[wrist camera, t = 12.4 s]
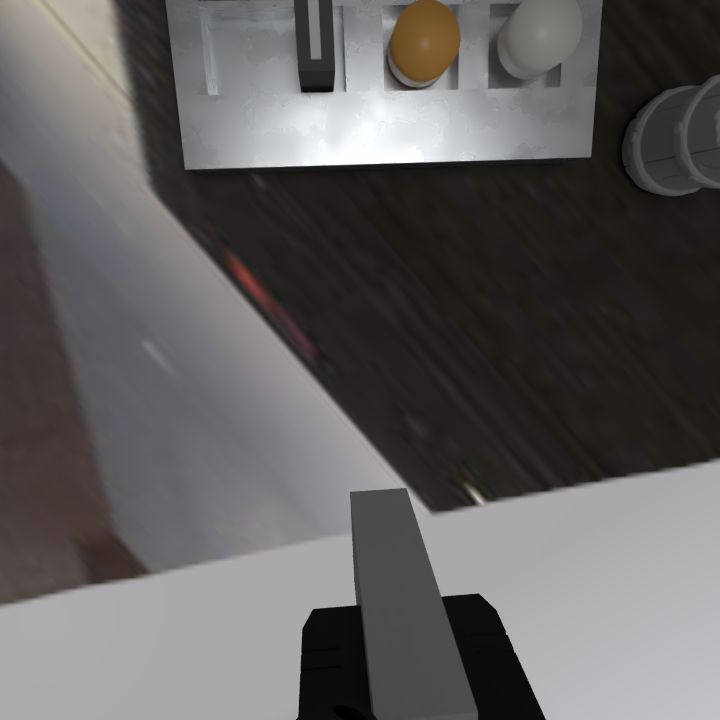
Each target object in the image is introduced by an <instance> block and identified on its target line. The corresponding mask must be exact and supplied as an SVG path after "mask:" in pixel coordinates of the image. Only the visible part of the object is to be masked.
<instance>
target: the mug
mask: <svg viewBox="0 0 720 720" xmlns="http://www.w3.org/2000/svg"><path fill="white" fill-rule="evenodd" d="M622 159H623V164H624V166H627V167H625V170H626V172H627V173H628V174H629V176H630V177H631V179H632V180H633V181H634V182H635V184H636V185H638V186H639V187H640V188H642V189H644V190H646V191H649V192H652V193H654V194H660V195H664V196H679V195H684V194H688V193H693V192H696V191H697V190H698V189H700V188H702V187H708V188H720V75H716V76H713V77H711V78H709V79H708V80H707V81H706V82H705V83H704V84H702V85H701V86H682V87H677V88H674V89H669V90H666V91H664V92H663V93H661V94H660V95H658V96H656V97H655V98H654V99H652V100H651V101H650V102H649V103H648V104H647V105H646V106H644V107H643V108H642V109H641V110H640V111H639V112H638V113H637V114H636V119H633V120H632V121H631V122H630V124H629V125H628V127H627V130H626V133H625V136H624V140H623V144H622Z"/></svg>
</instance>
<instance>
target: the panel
mask: <svg viewBox="0 0 720 720" xmlns="http://www.w3.org/2000/svg"><path fill="white" fill-rule="evenodd" d="M416 1H418V0H332V4H333V27H334V50H335V80H334V91H333V92H308V93H301V87H300V81H299V74H298V62H297V45H296V29H295V12H294V0H166V8H167V16H168V25H169V34H170V42H171V51H172V59H173V68H174V77H175V85H176V94H177V103H178V111H179V120H180V128H181V137H182V146H183V154H184V163H185V170H188V171H190V172H193V173H195V174H198V175H210V174H242V173H274V172H305V171H337V170H369V169H401V168H433V167H465V166H497V165H529V164H561V163H569V162H573V161H577V160H581V159H585V158H589V157H591V149H592V135H593V121H594V108H595V94H596V81H597V67H598V54H599V40H600V27H601V13H602V0H575V1H576V2H577V4H578V6H579V8H580V11H581V15H582V33H581V37H580V40H579V43H578V45H577V47H576V48H575V50H574V51H573V52H572V54H571V55H570V56H569V57H568V58H567V59H565V60H564V61H563V62H561V63H560V64H558V65H557V66H555V67H554V68H552V69H551V70H549V71H548V72H546V73H545V74H543V75H541V76H540V77H537V78H534V79H528V80H525V79H519V78H516V77H514V76H512V75H511V74H510V73H508V72H507V71H506V70H505V68H504V67H503V65H502V64H501V61H500V59H499V56H498V50H497V41H498V35H499V32H500V30H501V27H502V25H503V24H504V22H505V21H506V20H507V18H508V17H509V16H510V15H511V14H512V13H513V12H514V11H515V10H516V8H517V7H518V6H519V5H520V4H521V3H522V2H523V1H524V0H437V1H439V2H441V3H443V4H445V5H446V6H447V7H448V8H449V9H450V10H451V11H452V12H453V13H454V15H455V17H456V19H457V21H458V24H459V27H460V34H461V40H460V47H459V50H458V53H457V55H456V57H455V59H454V61H453V62H452V63H451V64H450V66H449V67H448V68H447V69H446V71H445V72H444V73H443V74H442V75H441V77H440V78H439V79H438V80H437V81H435V82H434V83H432V84H431V85H428V86H426V87H420V88H416V87H410V86H407V85H405V84H403V83H402V82H401V81H399V80H398V79H397V78H396V77H395V75H394V74H393V72H392V70H391V68H390V66H389V63H388V56H387V49H388V44H389V40H390V37H391V35H392V32H393V29H394V27H395V24H396V22H397V19H398V17H399V16H400V14H401V13H402V11H403V10H404V9H405V8H406V7H407V6H409V5H410V4H412V3H413V2H416Z"/></svg>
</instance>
